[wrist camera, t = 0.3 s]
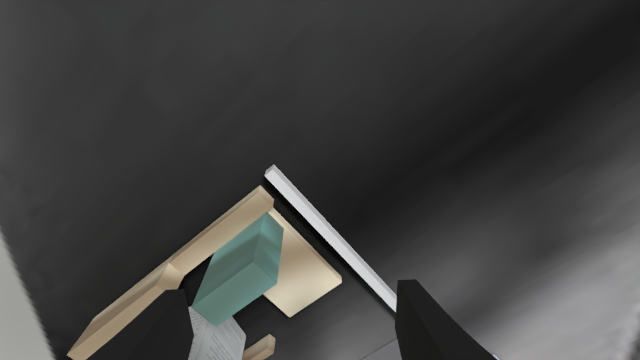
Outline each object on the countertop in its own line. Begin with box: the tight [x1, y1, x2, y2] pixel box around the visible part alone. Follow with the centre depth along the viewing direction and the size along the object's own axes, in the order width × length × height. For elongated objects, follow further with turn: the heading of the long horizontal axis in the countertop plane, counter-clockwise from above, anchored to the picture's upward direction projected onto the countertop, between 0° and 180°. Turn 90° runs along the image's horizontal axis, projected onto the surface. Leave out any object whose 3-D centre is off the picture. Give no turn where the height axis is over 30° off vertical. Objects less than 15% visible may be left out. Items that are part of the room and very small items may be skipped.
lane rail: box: [265, 165, 402, 360], centre depth 23 cm, size 17×7×2 cm, turn 39°
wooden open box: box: [67, 185, 342, 360], centre depth 22 cm, size 9×15×6 cm, turn 129°
